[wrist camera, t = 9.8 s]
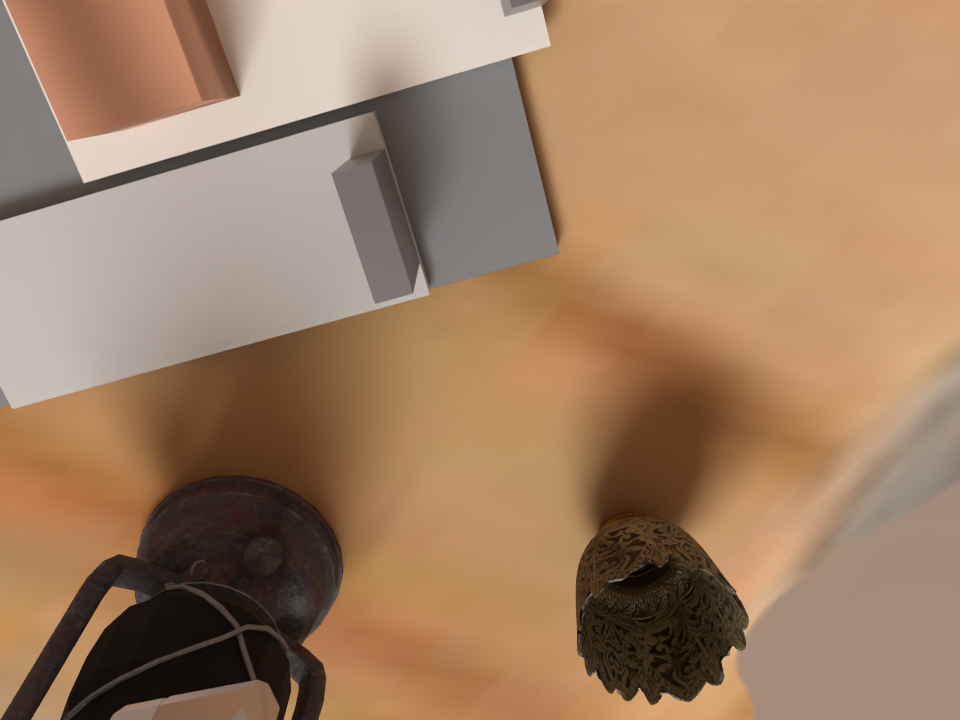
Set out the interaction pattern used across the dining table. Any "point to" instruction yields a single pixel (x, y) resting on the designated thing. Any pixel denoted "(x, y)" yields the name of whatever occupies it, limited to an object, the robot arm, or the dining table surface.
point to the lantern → (203, 605)
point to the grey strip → (203, 260)
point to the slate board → (402, 117)
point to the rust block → (123, 60)
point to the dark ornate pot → (654, 610)
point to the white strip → (319, 66)
